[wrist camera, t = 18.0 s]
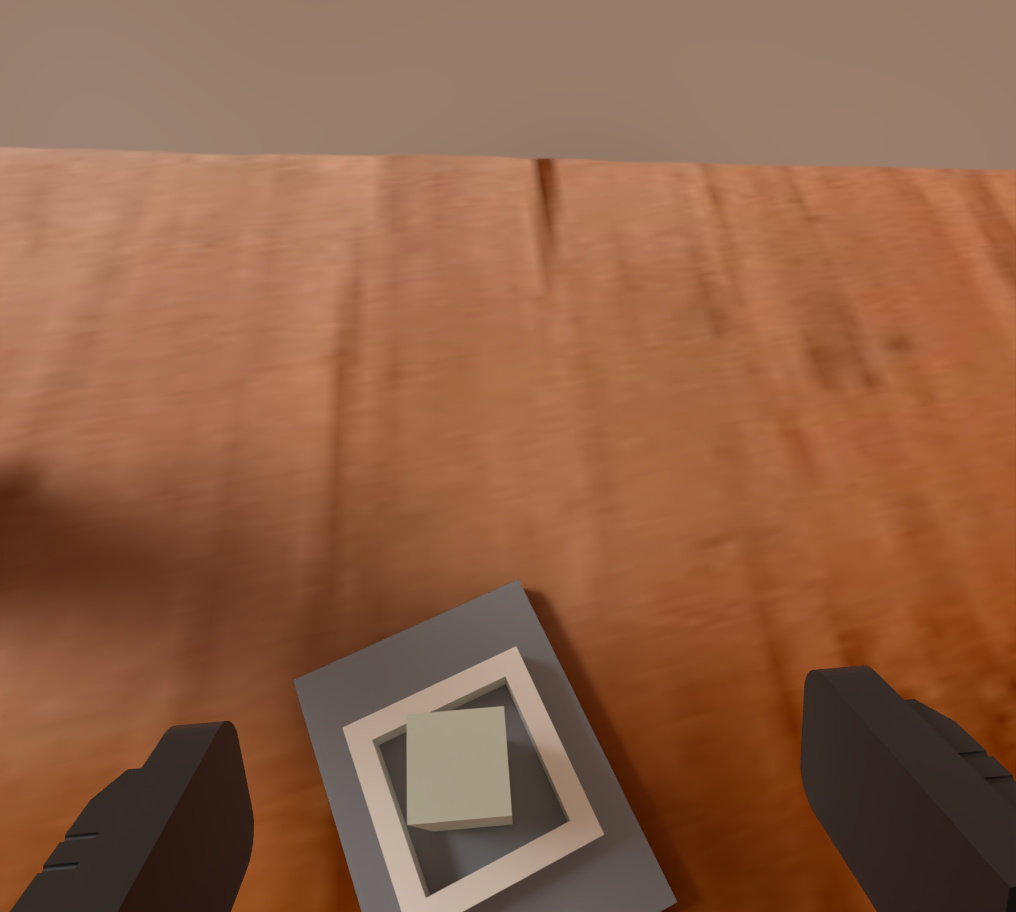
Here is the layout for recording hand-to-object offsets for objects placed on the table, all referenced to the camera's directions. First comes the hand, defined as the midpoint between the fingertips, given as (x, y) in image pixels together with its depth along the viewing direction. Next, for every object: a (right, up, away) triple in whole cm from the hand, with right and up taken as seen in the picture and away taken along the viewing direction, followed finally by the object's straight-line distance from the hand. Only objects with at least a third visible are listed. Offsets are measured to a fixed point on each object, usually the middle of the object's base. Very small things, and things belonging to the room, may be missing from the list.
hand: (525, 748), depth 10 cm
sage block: (-2, -13, +26) cm, 29 cm away
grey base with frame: (-2, -14, +27) cm, 31 cm away
